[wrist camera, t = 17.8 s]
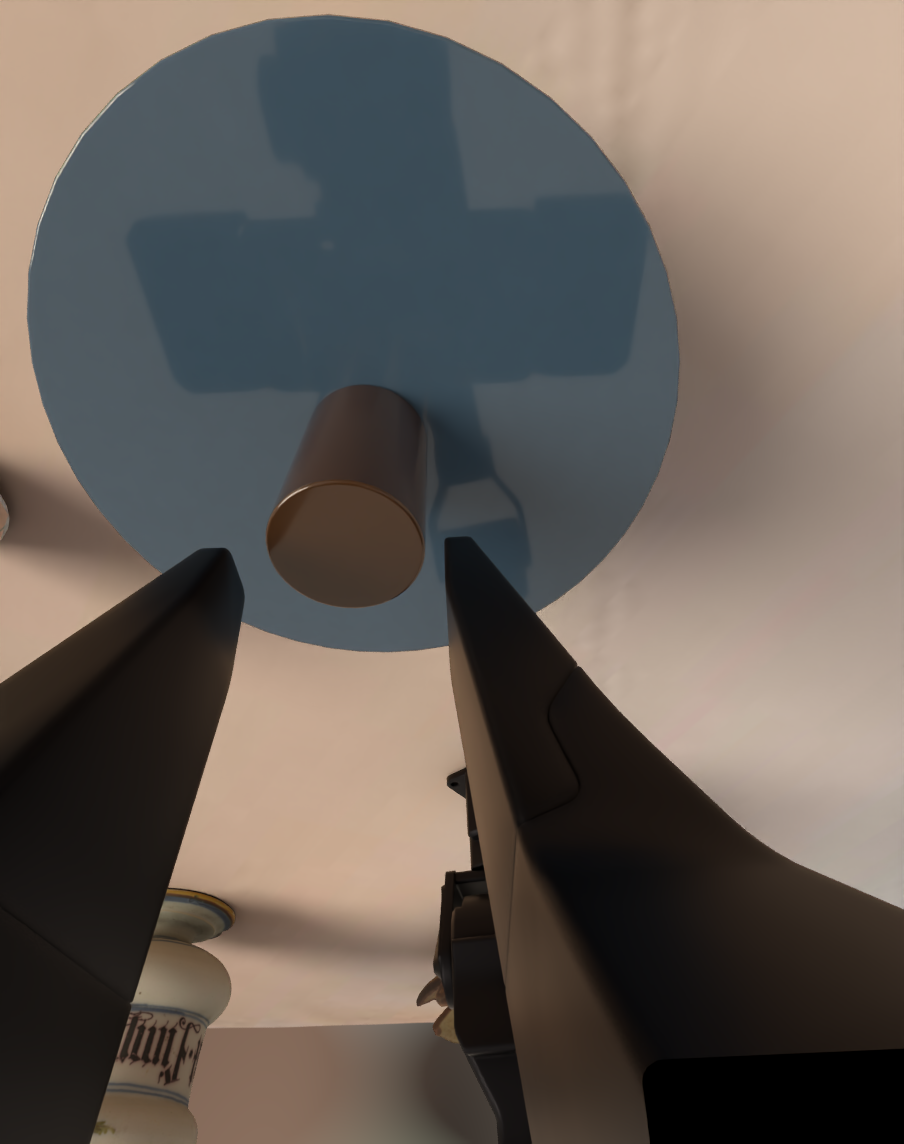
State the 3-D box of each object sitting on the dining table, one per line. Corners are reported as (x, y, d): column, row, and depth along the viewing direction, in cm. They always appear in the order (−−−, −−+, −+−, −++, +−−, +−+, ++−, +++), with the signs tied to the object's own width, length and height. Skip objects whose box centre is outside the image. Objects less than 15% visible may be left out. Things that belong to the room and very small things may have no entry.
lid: (748, 463, 14) (873, 600, 10) (358, 682, 19) (339, 833, 15) (407, -259, 7) (378, -719, 3) (-65, 367, 12) (-312, 489, 8)
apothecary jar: (222, 946, 54) (147, 1239, 40) (87, 923, 49) (-51, 1241, 35) (269, 900, 47) (201, 1228, 33) (119, 869, 43) (-32, 1230, 29)
